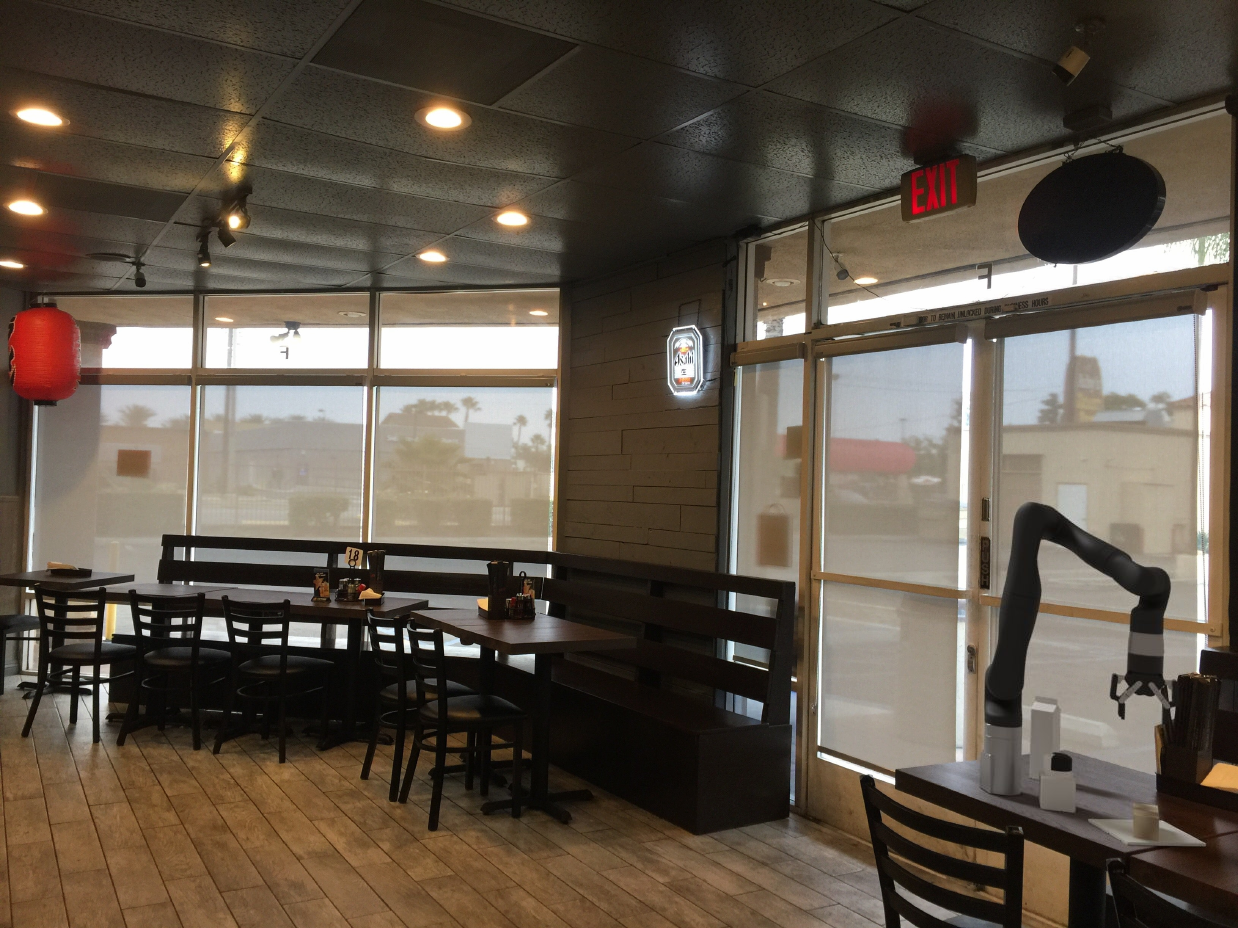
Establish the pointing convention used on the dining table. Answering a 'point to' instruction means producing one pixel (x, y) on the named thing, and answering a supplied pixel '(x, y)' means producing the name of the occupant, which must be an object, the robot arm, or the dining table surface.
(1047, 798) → the container
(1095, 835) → the dining table surface
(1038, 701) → the milk
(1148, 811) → the block
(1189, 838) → the mat
